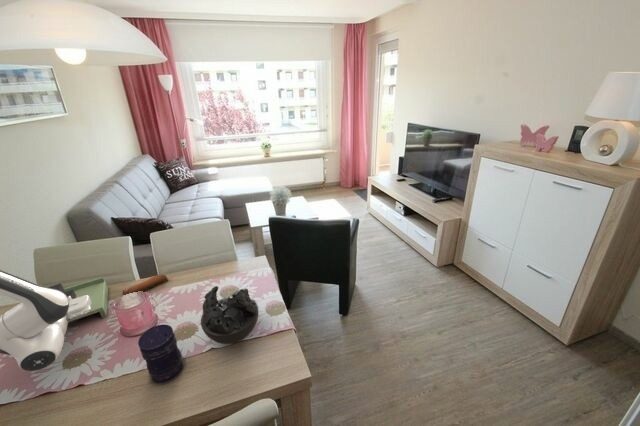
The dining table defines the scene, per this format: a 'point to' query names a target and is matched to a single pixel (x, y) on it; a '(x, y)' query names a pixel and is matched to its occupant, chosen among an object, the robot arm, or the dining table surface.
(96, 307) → the sage green riser
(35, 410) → the dining table surface
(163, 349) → the storage jar
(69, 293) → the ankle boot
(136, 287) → the brown rounded bar
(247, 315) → the bowl of black rocks
